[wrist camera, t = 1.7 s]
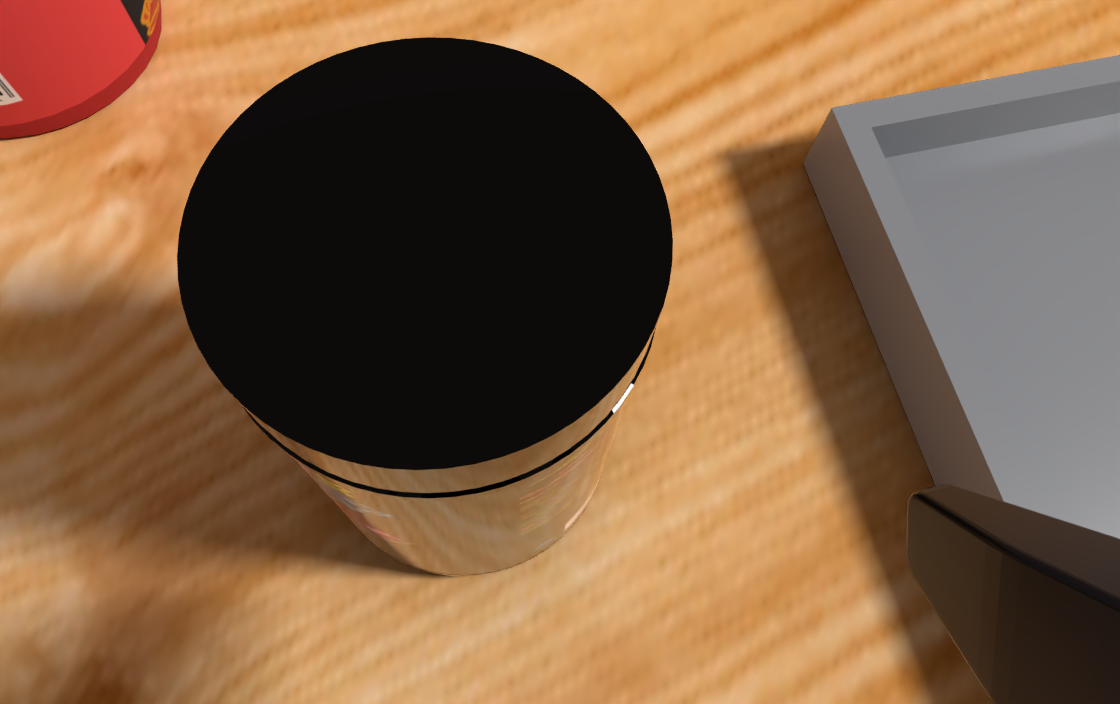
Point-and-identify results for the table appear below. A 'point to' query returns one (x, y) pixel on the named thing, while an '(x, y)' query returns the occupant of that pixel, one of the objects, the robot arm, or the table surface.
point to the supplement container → (432, 289)
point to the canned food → (70, 58)
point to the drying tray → (993, 276)
